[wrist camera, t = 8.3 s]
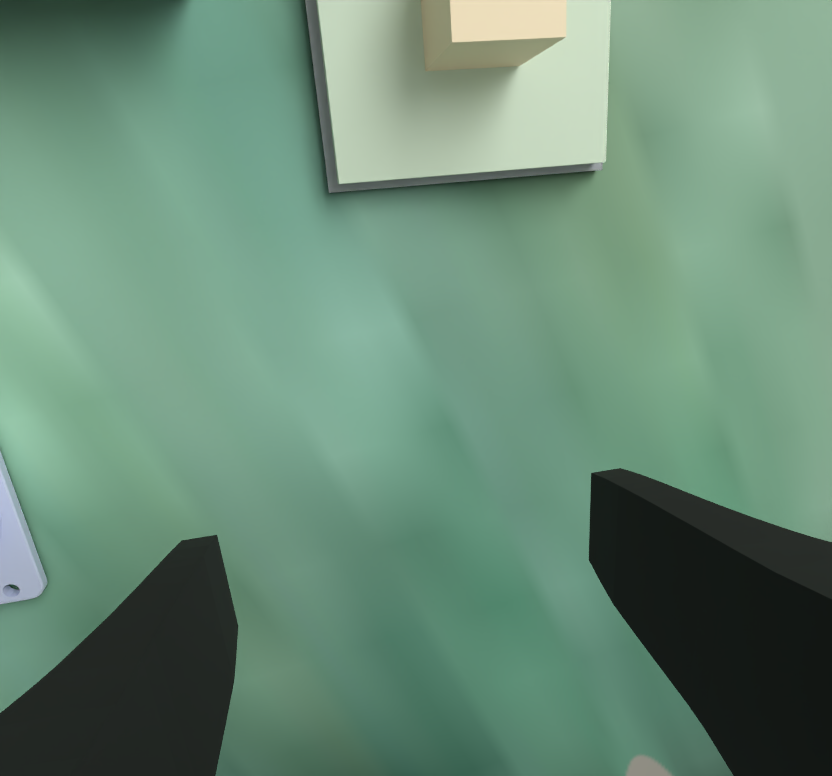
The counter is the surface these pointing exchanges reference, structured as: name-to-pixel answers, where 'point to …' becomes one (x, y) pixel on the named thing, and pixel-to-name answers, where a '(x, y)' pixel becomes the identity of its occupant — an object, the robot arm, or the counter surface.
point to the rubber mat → (335, 187)
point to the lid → (464, 85)
